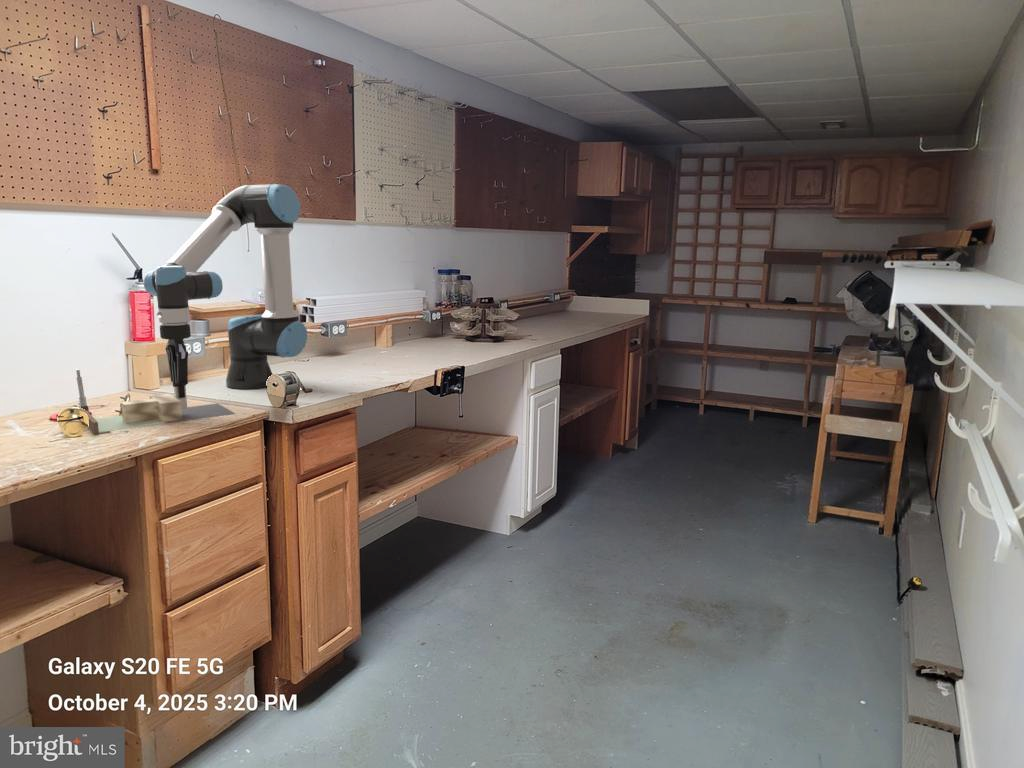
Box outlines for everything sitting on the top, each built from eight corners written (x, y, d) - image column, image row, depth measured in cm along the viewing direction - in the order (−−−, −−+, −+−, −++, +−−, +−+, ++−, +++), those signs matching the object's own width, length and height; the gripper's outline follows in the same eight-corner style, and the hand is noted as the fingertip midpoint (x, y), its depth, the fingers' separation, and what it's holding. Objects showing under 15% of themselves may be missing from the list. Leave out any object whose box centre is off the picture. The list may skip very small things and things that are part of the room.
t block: (170, 411, 209) (168, 393, 208) (182, 419, 200) (181, 401, 199) (119, 417, 201) (117, 399, 200) (129, 426, 192) (127, 407, 191)
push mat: (217, 404, 220) (217, 394, 219) (235, 415, 207) (235, 404, 207) (83, 421, 198) (82, 410, 198) (94, 434, 186) (93, 422, 185)
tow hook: (56, 424, 197) (93, 417, 204) (47, 377, 194) (86, 370, 201) (46, 419, 203) (83, 412, 209) (37, 373, 200) (75, 367, 206)
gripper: (153, 322, 204) (160, 406, 208) (166, 326, 194) (173, 415, 198) (182, 320, 208) (188, 402, 213) (196, 325, 198) (202, 411, 203)
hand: (181, 408), depth 205 cm, fingers closed
